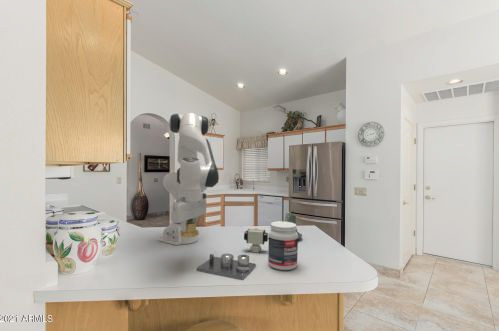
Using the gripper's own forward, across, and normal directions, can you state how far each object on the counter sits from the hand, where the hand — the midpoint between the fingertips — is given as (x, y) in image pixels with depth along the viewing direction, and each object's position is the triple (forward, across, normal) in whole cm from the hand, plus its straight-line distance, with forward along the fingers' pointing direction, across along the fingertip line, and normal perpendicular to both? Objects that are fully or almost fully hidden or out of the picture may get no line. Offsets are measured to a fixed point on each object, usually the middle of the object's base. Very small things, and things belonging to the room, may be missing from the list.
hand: (189, 229), depth 107 cm
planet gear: (+2, 0, 0) cm, 2 cm away
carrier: (+17, +7, -14) cm, 23 cm away
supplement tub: (+17, +20, -35) cm, 44 cm away
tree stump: (+17, +60, -26) cm, 67 cm away
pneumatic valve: (+17, +32, -18) cm, 41 cm away
